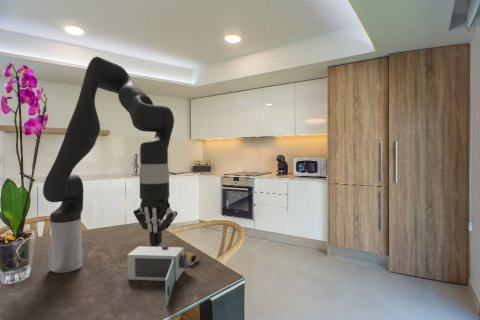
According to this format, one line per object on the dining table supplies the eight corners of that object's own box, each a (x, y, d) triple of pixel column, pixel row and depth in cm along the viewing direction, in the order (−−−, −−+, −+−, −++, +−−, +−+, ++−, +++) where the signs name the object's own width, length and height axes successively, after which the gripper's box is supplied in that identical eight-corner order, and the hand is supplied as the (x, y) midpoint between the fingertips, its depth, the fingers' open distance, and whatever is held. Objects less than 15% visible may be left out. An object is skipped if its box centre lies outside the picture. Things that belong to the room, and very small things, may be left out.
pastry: (168, 263, 105) (168, 252, 105) (180, 257, 111) (180, 247, 111) (189, 267, 101) (189, 257, 101) (200, 261, 107) (200, 251, 107)
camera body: (127, 279, 92) (127, 252, 91) (139, 269, 100) (138, 244, 99) (182, 281, 90) (181, 253, 90) (189, 270, 98) (188, 245, 98)
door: (169, 305, 75) (169, 278, 75) (164, 305, 75) (164, 279, 75) (176, 279, 90) (176, 257, 90) (172, 279, 90) (172, 257, 90)
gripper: (183, 180, 77) (184, 244, 77) (143, 178, 82) (144, 238, 82) (167, 183, 70) (168, 253, 70) (124, 181, 74) (125, 247, 75)
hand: (155, 245), depth 76 cm, fingers closed
